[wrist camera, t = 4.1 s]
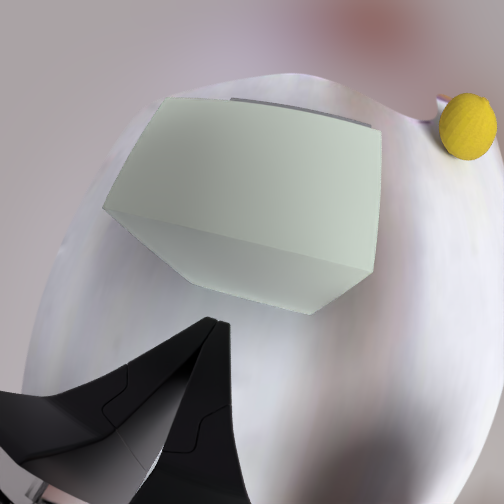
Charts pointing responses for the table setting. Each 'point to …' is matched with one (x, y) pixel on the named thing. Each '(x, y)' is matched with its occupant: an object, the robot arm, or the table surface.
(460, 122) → the lemon
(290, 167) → the sage block
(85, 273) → the table surface
